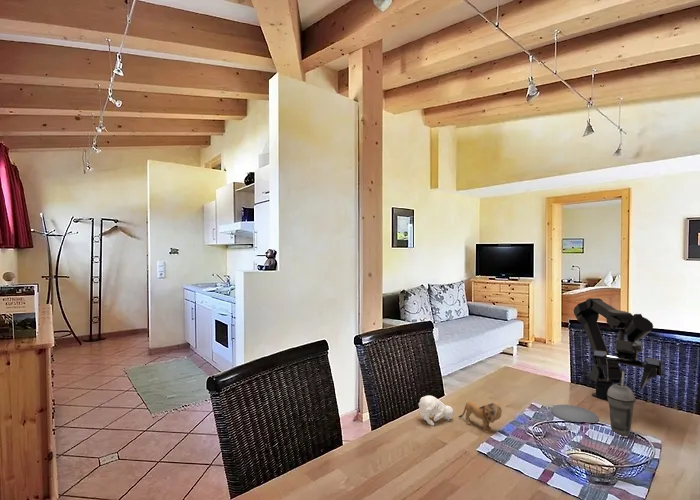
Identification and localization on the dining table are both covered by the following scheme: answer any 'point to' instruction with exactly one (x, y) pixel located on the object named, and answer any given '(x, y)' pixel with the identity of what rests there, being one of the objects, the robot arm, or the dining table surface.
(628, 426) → the beverage cup
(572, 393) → the dining table surface
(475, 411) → the lion figurine
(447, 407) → the white rounded figure
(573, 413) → the coaster
